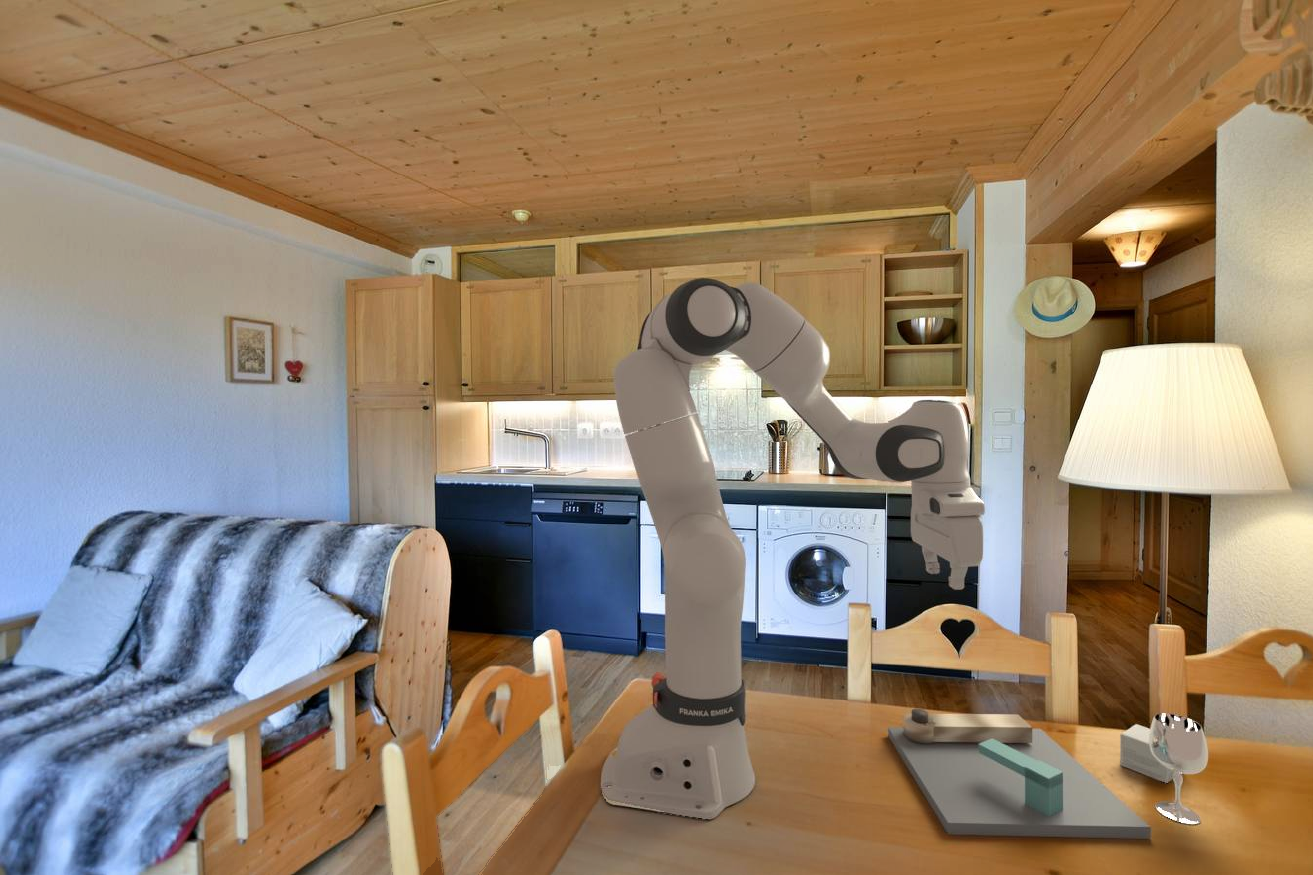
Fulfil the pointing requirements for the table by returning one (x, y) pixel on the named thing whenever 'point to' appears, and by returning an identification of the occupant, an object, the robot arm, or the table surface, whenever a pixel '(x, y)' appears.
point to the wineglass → (1178, 758)
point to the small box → (1141, 754)
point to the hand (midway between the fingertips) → (944, 580)
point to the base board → (1012, 792)
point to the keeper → (1030, 776)
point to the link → (966, 727)
